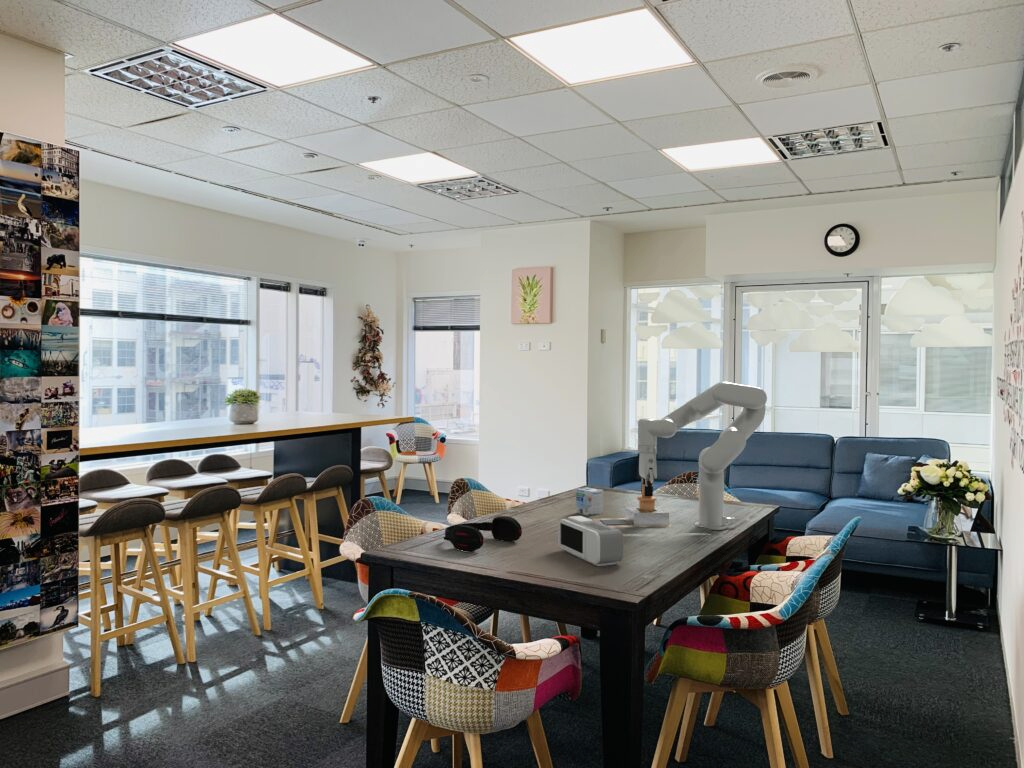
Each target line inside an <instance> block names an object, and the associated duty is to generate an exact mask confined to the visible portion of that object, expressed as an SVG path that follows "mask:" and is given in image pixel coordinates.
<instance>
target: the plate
mask: <svg viewBox="0 0 1024 768" xmlns="http://www.w3.org/2000/svg"><path fill="white" fill-rule="evenodd" d="M624 509H625V510H624V511H625V512H624V517H623V518H622V517H621V518H615V517H614V518H592V520H593V521H596V522H599V523H602V524H604V525H607V526H610V527H613V528H615V529H618V528H663V527H664V528H666V527H667V528H668V527H669V528H670V527H672V528H673V527H674V525H671V524H670V512H669V511H667V510H665V509H663V507H660V506H655V511H644V512H640V511H639V506H625V507H624Z"/></svg>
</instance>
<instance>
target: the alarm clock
mask: <svg viewBox="0 0 1024 768" xmlns="http://www.w3.org/2000/svg"><path fill="white" fill-rule="evenodd" d="M557 538H558V546H559V547H560V548H561V549H562V550H564V551H565V552H566V551H567V552H566V553H569V554H571V555H573V556H575V557H577V558H579V559H581V560H583V561H586V562H588V563H591V564H592V565H594V566H596V567H600V566H601V567H602V566H613V565H618V562H621V561H623V559H624V535H623V532H622V531H621V530H620V529H618V528H613V527H610V526H607V525H604V524H602V523H599V522H596V521H593V519H591V518H588V517H586V516H584V515H583V516H582V515H573V516H572V515H571V516H568V517H567V518H561V519H560V520H559V521H558V537H557Z"/></svg>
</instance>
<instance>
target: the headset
mask: <svg viewBox="0 0 1024 768" xmlns="http://www.w3.org/2000/svg"><path fill="white" fill-rule="evenodd" d="M518 521H519V520H518ZM518 521H517V520H516V519H515V518H514V517H512V516H505V515H500V516H496V517H494V518H493V519H492V521H485V522H484V521H482V522H467V523H458V524H453V525H450V526H448V527H446V528H445V530H444V537H443V540H444V541H449V542H450V543H451V544H452V546H453V547H454V549H455V548H456V549H459V550H463V551H469V552H468V553H471V552H475V551H477V550H480V548H482V546H483V545H484V535H483V533H482V532H481V531H484V532H491V536H492V538H493V539H494V542H495V541H496V542H497V541H500V540H503V541H502V542H516V541H518V540H519V539H520V538H521V537H522V533H523V530H522V525H521V524H520V523H519V522H518ZM496 539H498V540H496ZM456 549H455V550H456ZM459 550H458V551H459ZM463 551H462V552H463Z"/></svg>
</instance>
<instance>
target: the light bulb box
mask: <svg viewBox="0 0 1024 768" xmlns="http://www.w3.org/2000/svg"><path fill="white" fill-rule="evenodd" d="M575 492H576V495H575V497H576V498H575V499H576V500H575V502H576V503H575V506H576V507H575V513H576V514H578V515H579V514H580V515H583V516H589V517H590V515H602V514H604V489H599V488H592V487H588V486H586V487H578V488H576V489H575Z"/></svg>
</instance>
